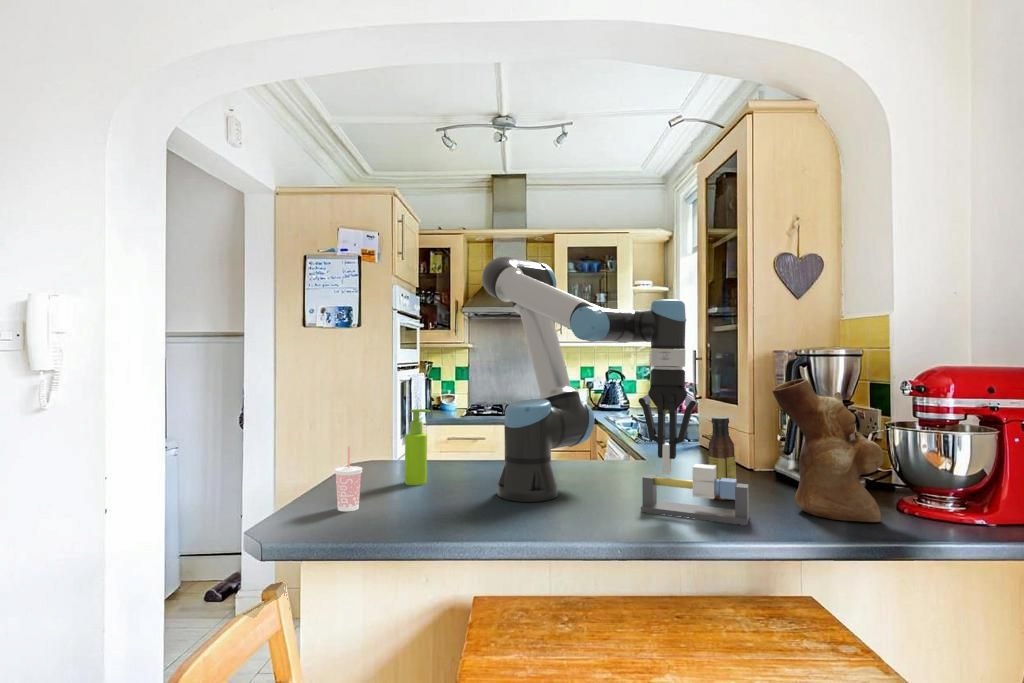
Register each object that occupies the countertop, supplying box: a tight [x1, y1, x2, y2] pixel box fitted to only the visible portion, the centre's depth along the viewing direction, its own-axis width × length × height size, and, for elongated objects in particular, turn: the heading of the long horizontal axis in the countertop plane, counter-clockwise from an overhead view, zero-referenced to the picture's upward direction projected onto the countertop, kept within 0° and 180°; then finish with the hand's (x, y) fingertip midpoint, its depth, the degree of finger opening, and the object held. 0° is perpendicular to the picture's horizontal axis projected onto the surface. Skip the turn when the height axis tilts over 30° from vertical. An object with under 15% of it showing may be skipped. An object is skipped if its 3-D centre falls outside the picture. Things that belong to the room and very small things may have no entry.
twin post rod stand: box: [640, 473, 750, 526], centre depth 125 cm, size 22×7×8 cm, turn 64°
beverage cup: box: [334, 446, 363, 512], centre depth 129 cm, size 6×6×14 cm
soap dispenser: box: [404, 408, 432, 486], centre depth 154 cm, size 6×7×20 cm
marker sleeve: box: [692, 463, 716, 500], centre depth 124 cm, size 4×4×6 cm
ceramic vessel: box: [771, 378, 885, 523], centre depth 126 cm, size 16×22×30 cm
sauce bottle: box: [707, 416, 737, 501], centre depth 140 cm, size 7×6×20 cm
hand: (666, 472), depth 128 cm, fingers closed
